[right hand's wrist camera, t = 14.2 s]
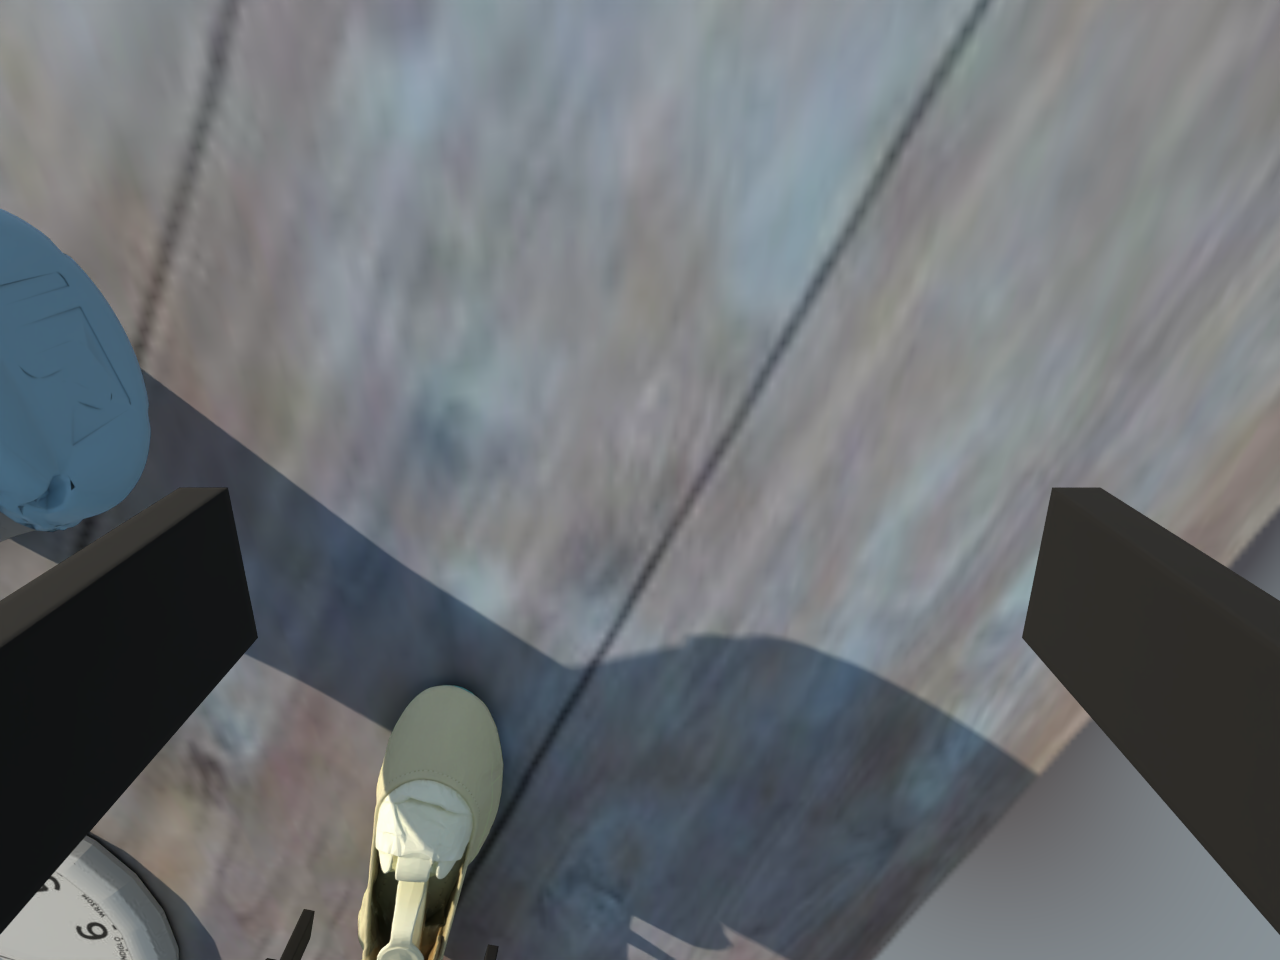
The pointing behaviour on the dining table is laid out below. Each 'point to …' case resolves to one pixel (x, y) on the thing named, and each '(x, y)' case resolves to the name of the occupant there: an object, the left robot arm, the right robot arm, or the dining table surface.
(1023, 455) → the dining table surface
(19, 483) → the left robot arm
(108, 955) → the wall clock
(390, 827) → the ballet flat
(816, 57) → the dining table surface
